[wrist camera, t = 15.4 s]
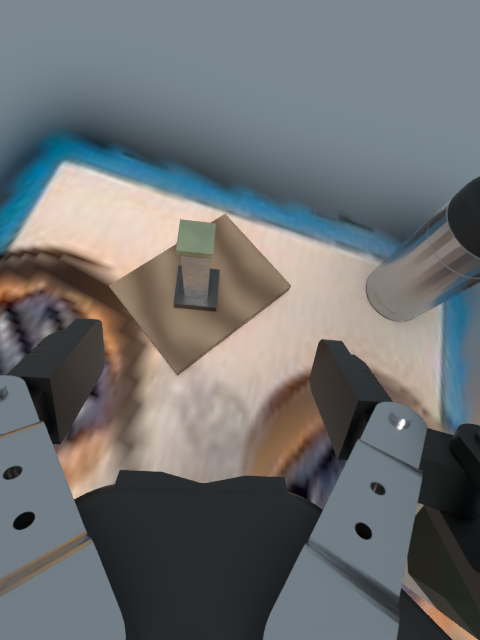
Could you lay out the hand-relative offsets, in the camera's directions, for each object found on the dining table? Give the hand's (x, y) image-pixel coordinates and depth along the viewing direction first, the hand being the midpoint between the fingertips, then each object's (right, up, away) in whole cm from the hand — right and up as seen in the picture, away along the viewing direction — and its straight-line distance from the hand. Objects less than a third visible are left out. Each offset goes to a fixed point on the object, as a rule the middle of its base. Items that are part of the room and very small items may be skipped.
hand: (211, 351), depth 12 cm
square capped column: (-5, +5, +32) cm, 33 cm away
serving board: (-4, +5, +34) cm, 35 cm away
